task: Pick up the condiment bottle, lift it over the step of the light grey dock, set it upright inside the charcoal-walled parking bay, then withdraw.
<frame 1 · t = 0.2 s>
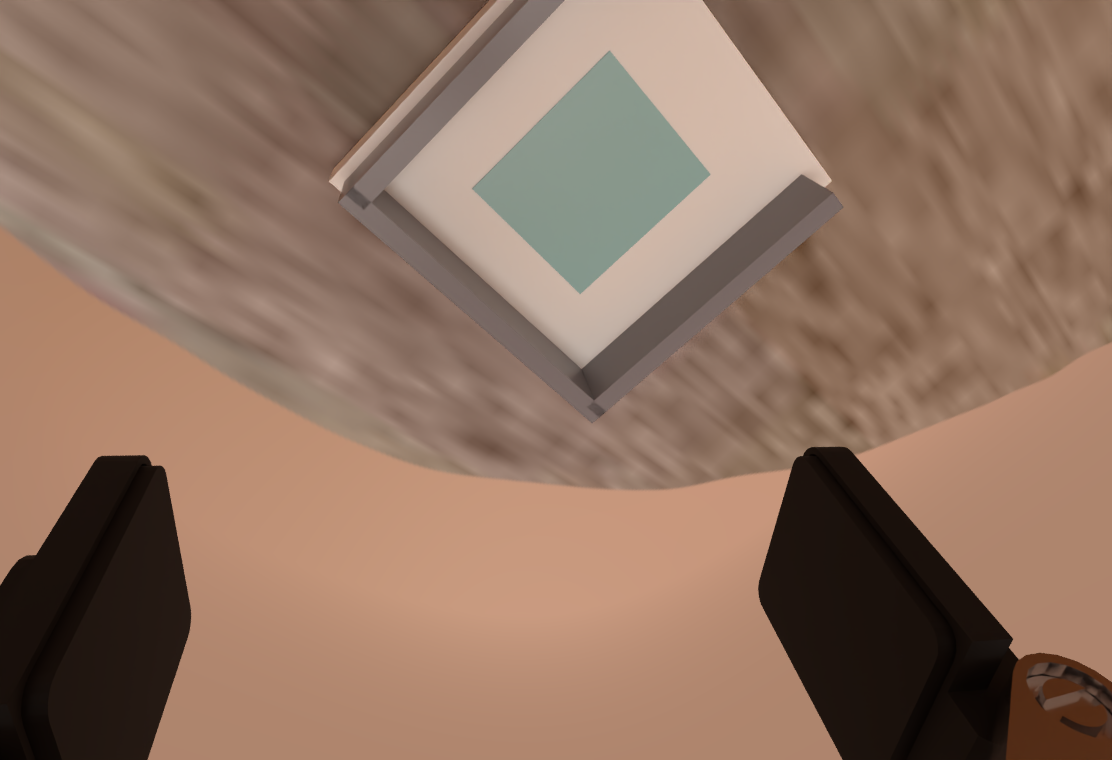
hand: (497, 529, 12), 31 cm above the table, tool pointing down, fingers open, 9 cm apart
dock: (584, 168, 40), on the table
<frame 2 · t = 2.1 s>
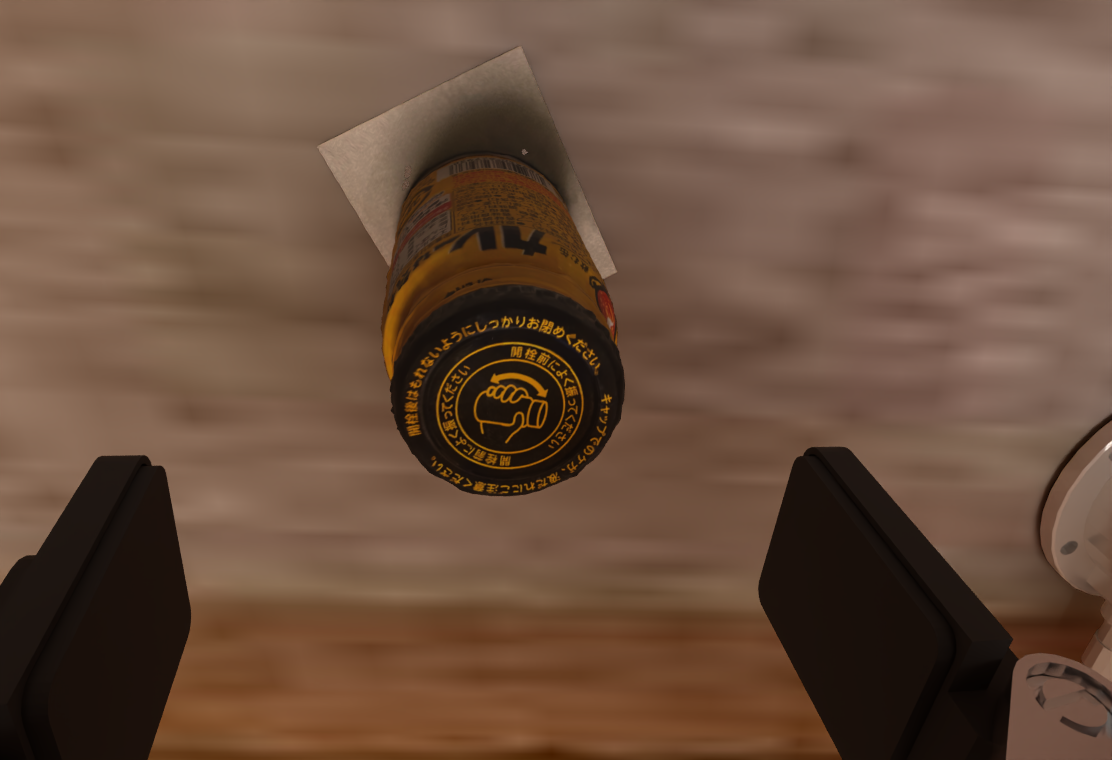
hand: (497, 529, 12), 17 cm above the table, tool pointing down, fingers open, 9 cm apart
condiment: (476, 210, 27), on the table
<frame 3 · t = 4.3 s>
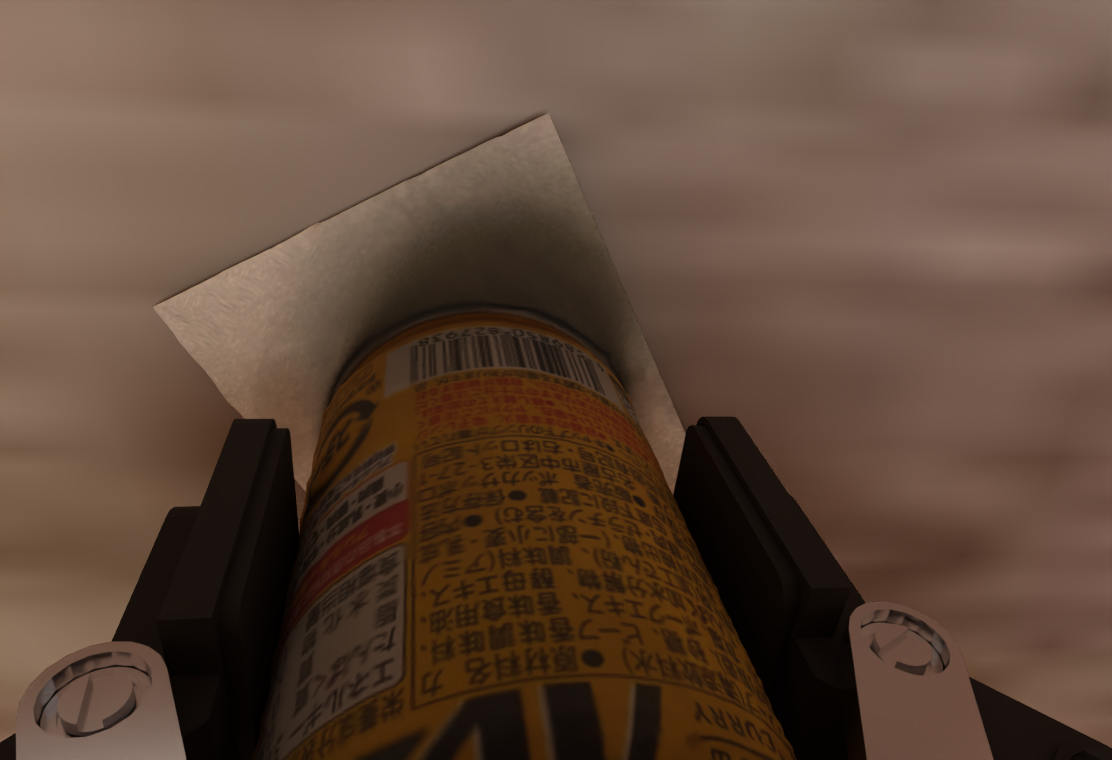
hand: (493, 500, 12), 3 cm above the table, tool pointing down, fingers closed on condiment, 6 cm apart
condiment: (463, 395, 15), on the table, touching gripper
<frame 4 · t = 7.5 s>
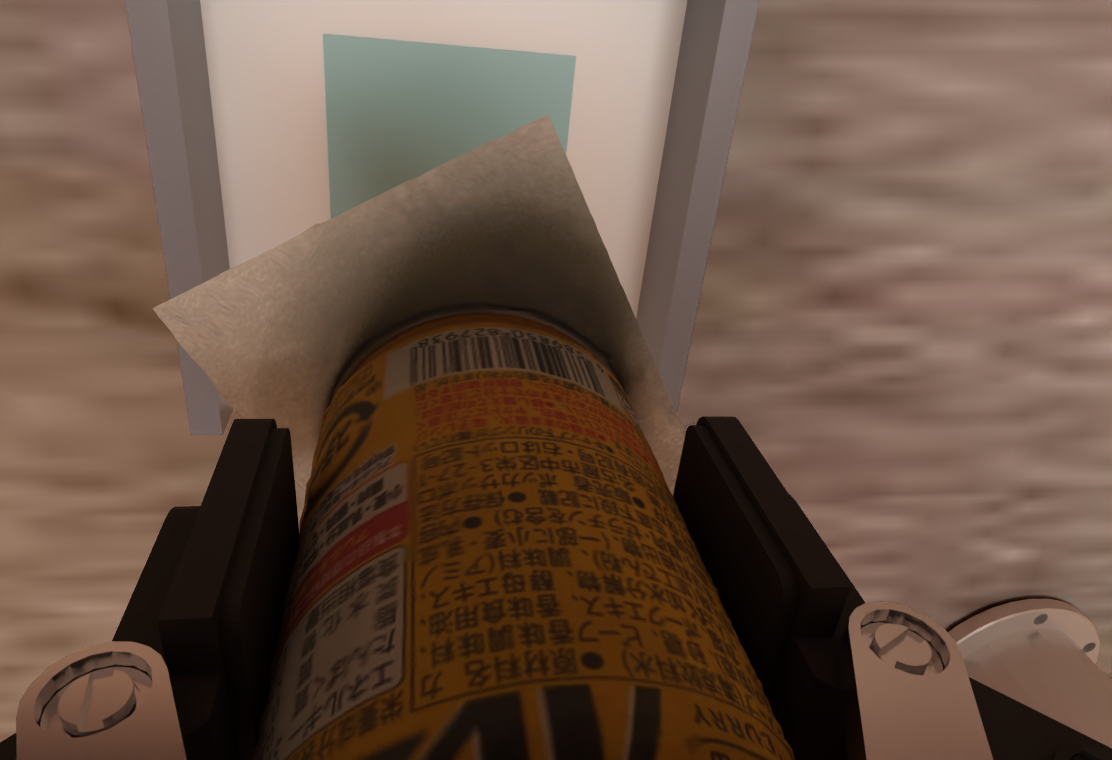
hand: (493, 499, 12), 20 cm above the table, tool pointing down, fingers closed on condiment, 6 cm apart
condiment: (463, 396, 15), point 16 cm above the table, touching gripper
dock: (446, 167, 29), on the table
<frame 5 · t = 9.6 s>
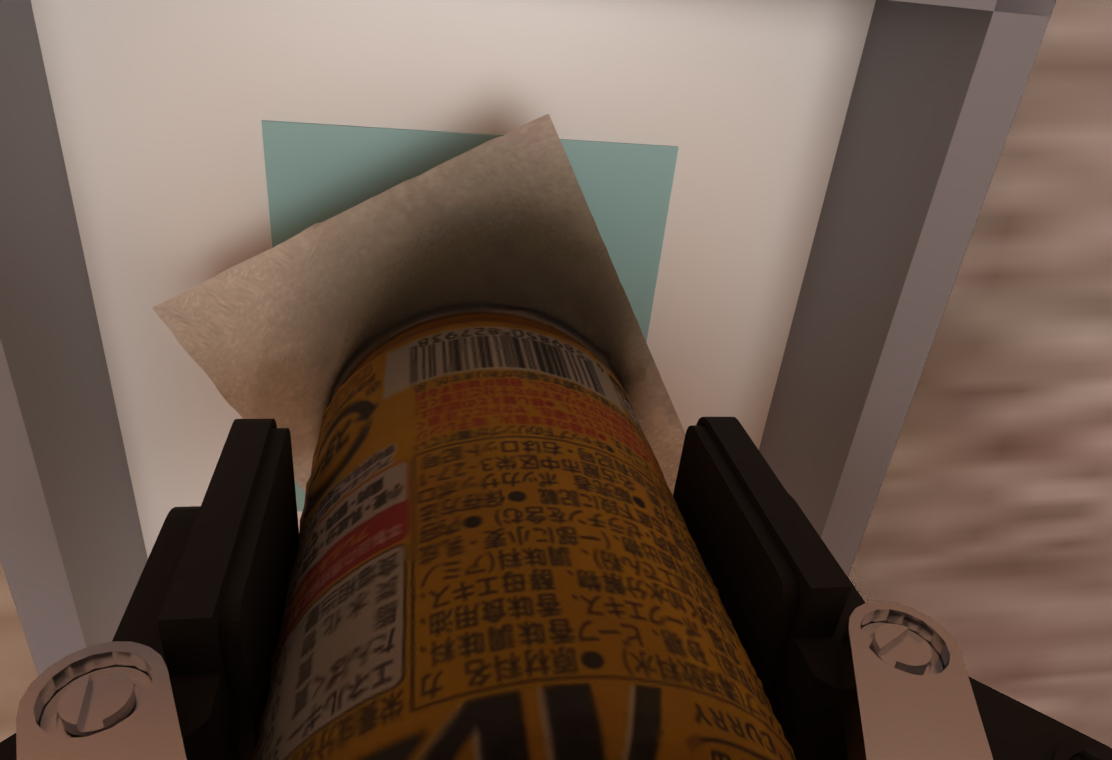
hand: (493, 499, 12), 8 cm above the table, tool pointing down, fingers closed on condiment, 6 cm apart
condiment: (463, 395, 15), point 5 cm above the table, touching gripper
dock: (464, 298, 19), on the table
when the fingers open (7 cm above the table, at t = 11.1 s): condiment drops 1 cm, resting on dock.
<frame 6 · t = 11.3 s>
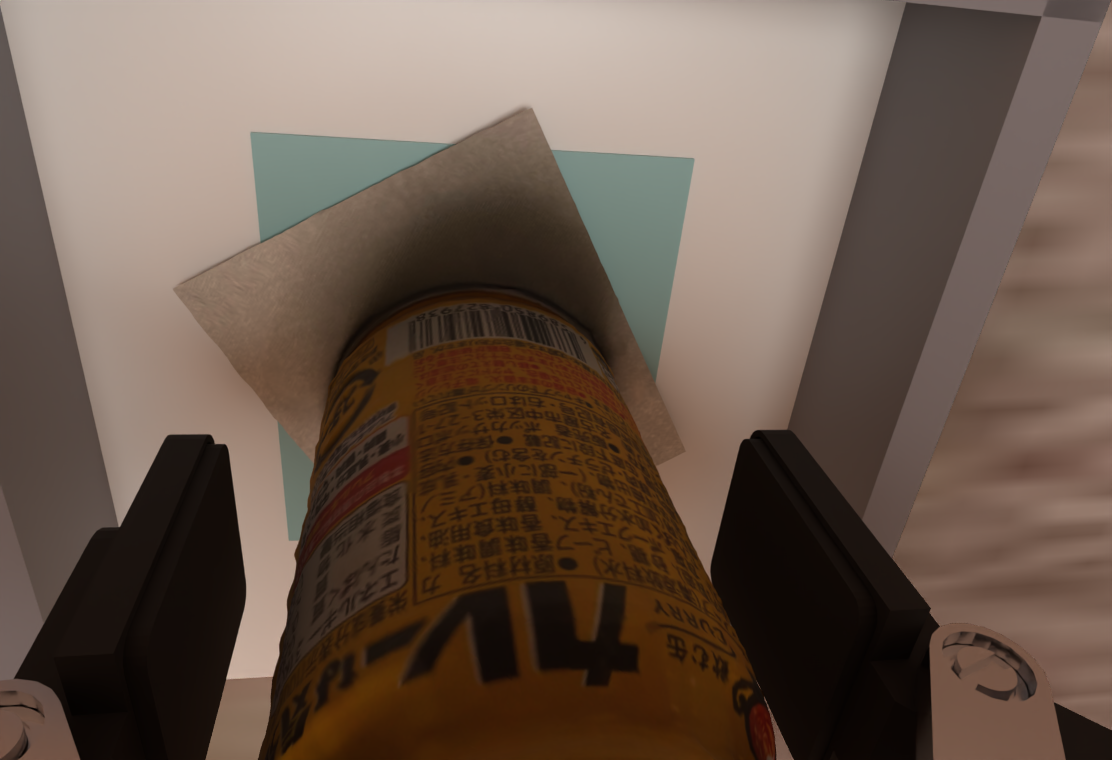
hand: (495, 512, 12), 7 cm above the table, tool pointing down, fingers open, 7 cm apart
condiment: (458, 370, 16), point 2 cm above the table, touching dock
dock: (466, 315, 18), on the table
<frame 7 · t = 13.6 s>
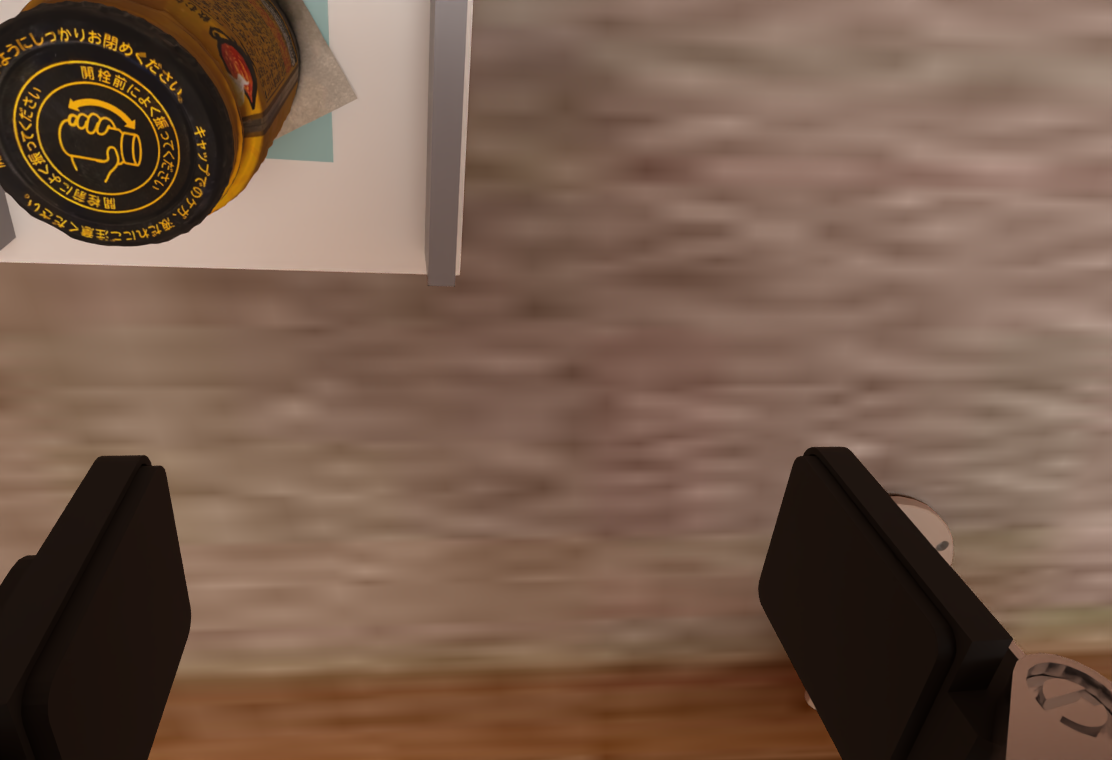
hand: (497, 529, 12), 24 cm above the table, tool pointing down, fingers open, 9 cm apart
condiment: (198, 27, 26), point 2 cm above the table, touching dock
dock: (220, 14, 28), on the table
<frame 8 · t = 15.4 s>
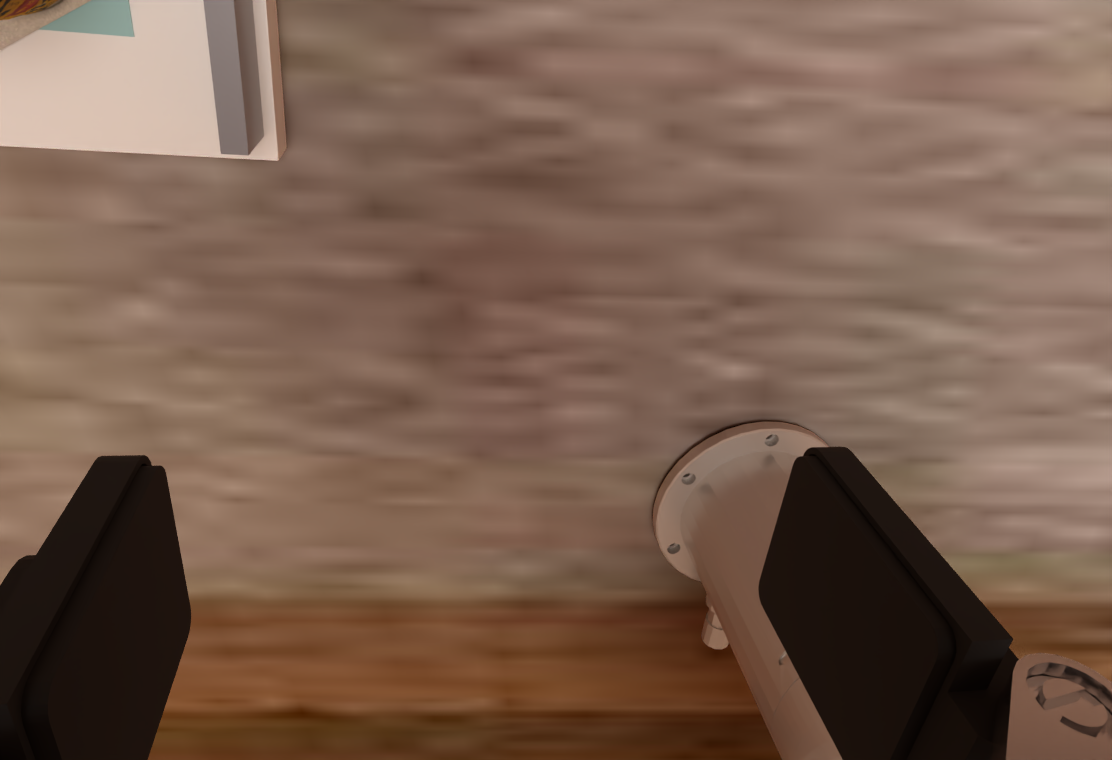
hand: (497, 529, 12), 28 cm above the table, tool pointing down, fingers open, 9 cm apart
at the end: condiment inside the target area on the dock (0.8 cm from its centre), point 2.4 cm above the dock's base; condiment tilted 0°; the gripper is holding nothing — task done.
